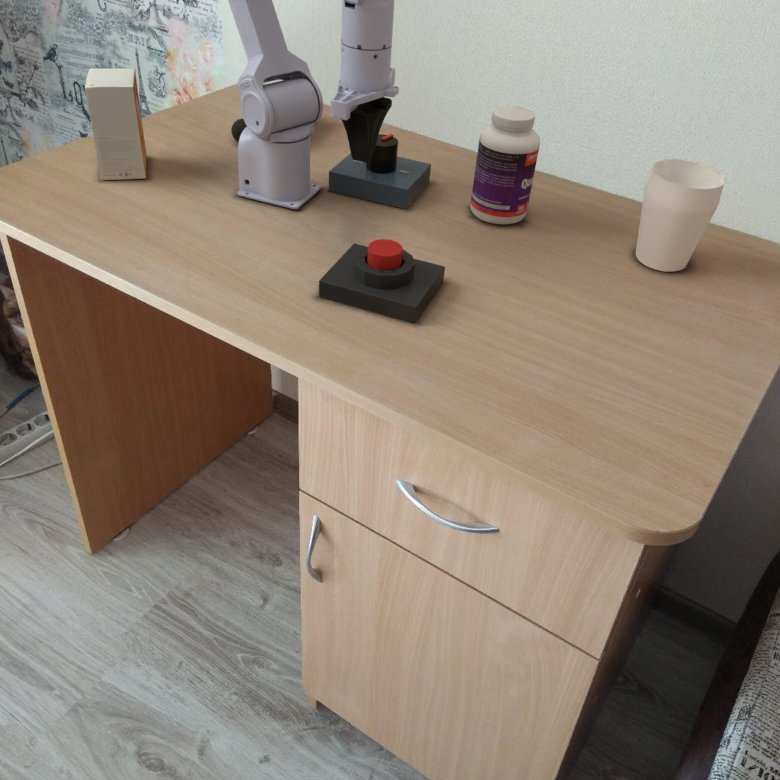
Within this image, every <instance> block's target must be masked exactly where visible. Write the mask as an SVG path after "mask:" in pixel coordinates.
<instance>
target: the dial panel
mask: <svg viewBox="0 0 780 780" xmlns="http://www.w3.org/2000/svg"><path fill="white" fill-rule="evenodd" d="M431 169H432V164H431V163H428V162H424V161H419V160H414V159H412V158H411V159H410V158H405V157H401V156H397V165H396V170H395V171H393V172H390V173H375V172H372V171H370V170H368V169H367V168H366V163H365V162H361V161H356V160H353V159H352V155H351V152H349V154H348V155H346V156H345V157H343V158H342V159H341V160H340V161H339V162H338V163H337V164H336V165H335V166H333V167H332V168H331V169H330V170H329V171H328V192H332V193H336V194H340V195H344V196H347V197H353V198H357V199H360V200H366V201H369V202H373V203H379V204H383V205H386V206H391V207H395V208H398V209H402V210H407V209H408V207H410V205H411V204H412V203H413V202H414V201H415V200H416V199H417V198H418V196H419V195H420V194H421V193H422V191H424V190H425V188H426V187H427V186H428V185H429V184H430V180H431Z"/></svg>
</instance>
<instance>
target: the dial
mask: <svg viewBox="0 0 780 780" xmlns="http://www.w3.org/2000/svg"><path fill="white" fill-rule="evenodd" d="M398 151H399V140H398V139H397V138H396V137H394V134H393V133H389V134H380V133H379V135H378V138H377V142H376V146H375V149H374V153H373V156H372V159H371V160H370V161H369V162H368V163H366V168H367V169H368V170H370V171H372V172H375V173H390V172H393V171H395V170H396V165H397V157H398Z"/></svg>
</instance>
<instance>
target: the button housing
mask: <svg viewBox="0 0 780 780" xmlns="http://www.w3.org/2000/svg"><path fill="white" fill-rule="evenodd" d="M367 255H368V245H367V246H366V245H363V244H359V243H355V242H354V243H353V244H352V245H351V246H350V247H349V248H348V249H347V250H346V251H345V252H344V253H343V255H341V256H340V258H339V259H338V260H337V261H336V262H335V263H334V264H333V265H332V267H330V268H329V269H328V270H327V272H326V273H324V275H323V276H322V277H321V278H320V279H319V281H318V297H319V298H323V299H325V300H326V299H327V300H330V301H334V302H337V303H340V304H345V305H347V306H352V307H355V308H359V309H362V310H366V311H369V312H372V313H377V314H380V315H384V316H387V317H388V316H389V317H392V318H395V319H397V320H402V321H404V322H405V321H406V322H409V323H412V324H416V323H417V321H418V320H419V318H420V317H421V316H422V314H423V312H424V311H425V309H426V308H427V307H428V305H429V304H430V302H431V301H432V299H433V297H434V296H435V295H436V293H437V292H438V290H439V289H440V288H441V286H442V285H443V283H444V279H445V273H446V272H445V271H446V266H444V265H440V264H436V263H433V262H428V261H426V260H422V259H417V258H414V256H413V254H411V253H409V252H408V251H407V250H405V249H403V252H402V264H401V266H400V268H397V269H394V270H379V269H375V268H372V267H371V266H369V265H368V263H367Z"/></svg>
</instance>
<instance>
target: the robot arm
mask: <svg viewBox="0 0 780 780" xmlns="http://www.w3.org/2000/svg"><path fill="white" fill-rule="evenodd" d="M227 1H228V5H229V8H230V11H231V13H232V16H233V19H234V22H235V25H236V28H237V31H238V34H239V37H240V40H241V44H242V46H243V49H244V53H245V55H246V59H247V61H248V63H247V65H246V66H245V68H244V69H243V71H242V73H241V74H240V76H239V78H238V79H237V81H236V86H237V90H238V94H239V98H240V111H241V116H242V119H244V121H245V123H246V125H247V127H246V128H245V129H244V130H243V132H242V133H241V136H240V139H239V142H237V143H238V144H237V162H238V178H239V179H238V181H239V190H237V191H236V193H237V196H239V197H243V198H246V199H251V200H254V201H259V202H262V203H267V204H271V205H275V206H279V207H282V208H286V209H291V210H299V209H300V208H301V207H302V206H303V205H305V204H306V203H307V202H308V201H309V200H310V199H311V198H312V197H313V196H315V195H316V194H317V193H318V192H319V191H321V190H322V186H321V185H320V184H317V183H312V182H311V133H313V132H315V124H316V123H318V122H319V121H320V120H321V118H322V115H323V111H324V99H323V94H322V91H321V89H320V87H319V85H318V83H317V82H316V81H315V79H314V78H313V76H312V74H311V71H310V68H309V65H308V63H307V62H306V61H304V60H303V59H302V58H300V57H299V56H297V55H296V54H294V53H293V52H291V51H290V50H289V49H288V46H287V43H286V40H285V37H284V34H283V30H282V27H281V24H280V21H279V18H278V15H277V11H276V8H275V4H274V2H273V0H227ZM395 1H396V0H341V31H340V32H341V34H340V37H341V39H340V77H339V78H340V79H339V80H338V83H337V87H336V91H335V95H334V97H333V98H332V99H331V100H330V118H334V119H338V120H341V123H342V125H343V127H344V130H345V134H346V137H347V141H348V146H349V150H350V153H351V155H352V159H353V160H356V161H361V162H365V163H368V162H369V161H370V160H371V159H372V156H373V153H374V149H375V146H376V142H377V138H378V135H379V134H380V131H381V128H382V125H383V123H384V121H385V118H386V116H387V114H388V113H389V111H390V109H391V108H392V105H393V100H392V99H391V98H394V97H396V96H397V95H398V94H400V93H399V92H400V87H399V86H397V85H395V84H396V83H395V82H396V68H395V67H391V65H392V50H393V49H392V48H393V35H394V34H393V33H394V32H393V31H394V17H395V16H394V15H395ZM264 83H266V84H264Z"/></svg>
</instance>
